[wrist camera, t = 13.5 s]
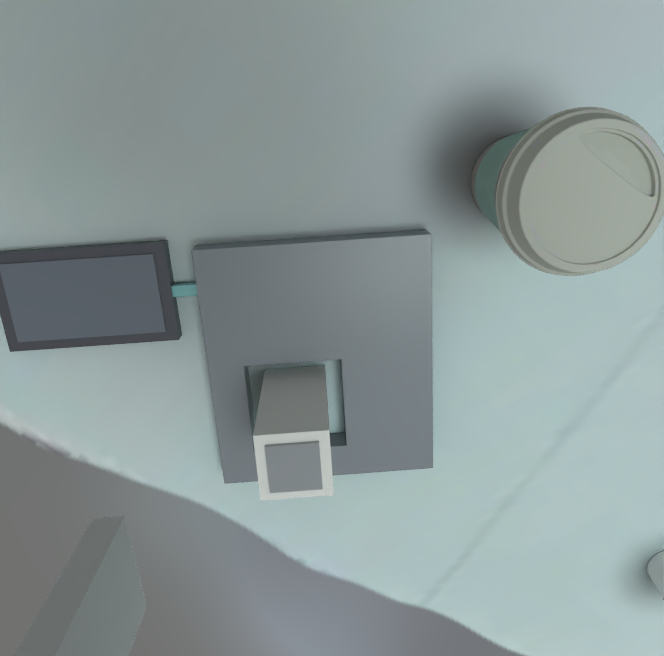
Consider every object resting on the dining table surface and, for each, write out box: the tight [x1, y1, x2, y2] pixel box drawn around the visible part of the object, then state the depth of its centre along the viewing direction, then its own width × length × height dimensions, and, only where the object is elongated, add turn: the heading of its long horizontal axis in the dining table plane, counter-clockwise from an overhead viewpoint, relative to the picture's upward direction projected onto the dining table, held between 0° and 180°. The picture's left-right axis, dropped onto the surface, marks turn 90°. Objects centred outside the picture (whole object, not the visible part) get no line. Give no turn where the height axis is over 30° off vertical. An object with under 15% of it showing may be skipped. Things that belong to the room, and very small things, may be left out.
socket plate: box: [192, 230, 433, 483], centre depth 42 cm, size 18×16×2 cm
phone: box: [0, 240, 198, 352], centre depth 40 cm, size 7×20×1 cm, turn 93°
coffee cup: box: [471, 107, 664, 276], centre depth 34 cm, size 8×9×12 cm
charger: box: [253, 365, 334, 501], centre depth 39 cm, size 4×4×10 cm
